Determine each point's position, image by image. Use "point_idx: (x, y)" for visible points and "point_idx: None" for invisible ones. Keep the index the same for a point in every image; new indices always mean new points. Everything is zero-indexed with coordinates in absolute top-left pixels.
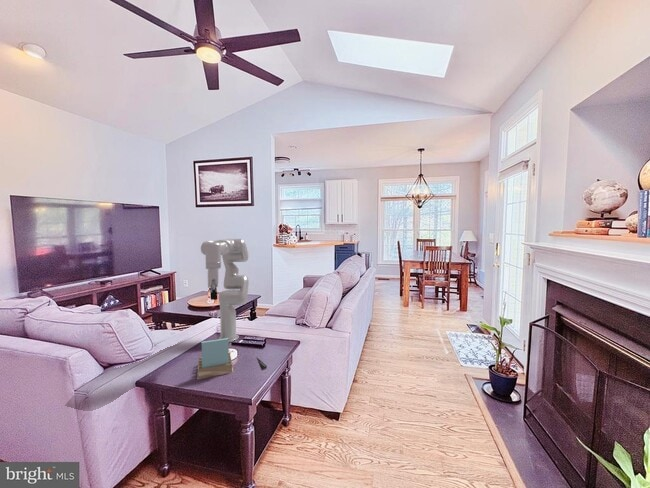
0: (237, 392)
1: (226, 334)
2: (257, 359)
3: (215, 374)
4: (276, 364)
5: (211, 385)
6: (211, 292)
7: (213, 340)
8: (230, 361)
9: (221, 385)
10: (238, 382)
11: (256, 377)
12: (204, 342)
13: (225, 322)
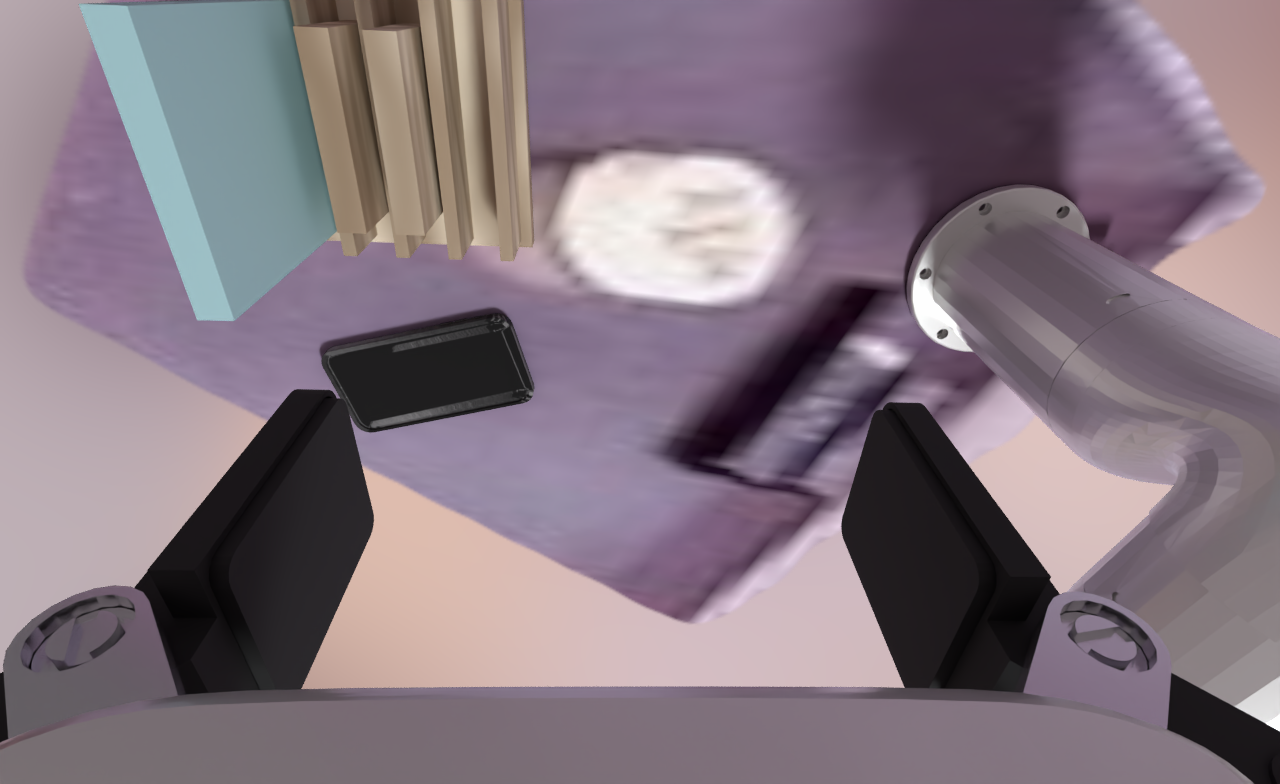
0: (73, 230)
1: (968, 274)
2: (487, 402)
3: None
4: (400, 476)
5: None
6: (173, 582)
7: (163, 162)
8: (342, 247)
9: None
10: None
11: (255, 357)
12: (96, 45)
13: (1039, 318)
